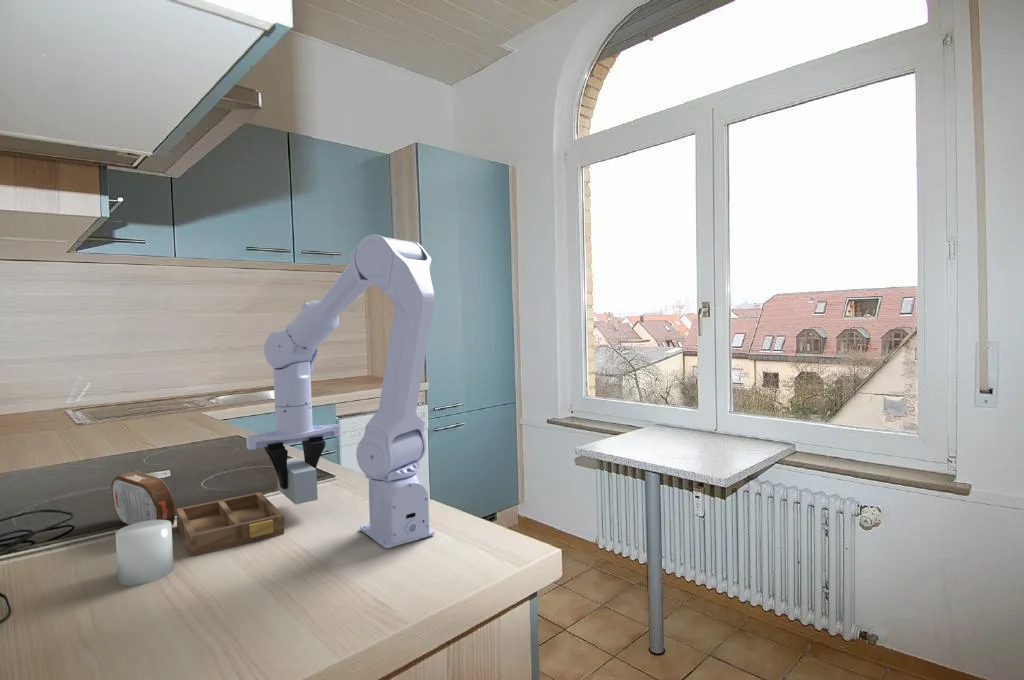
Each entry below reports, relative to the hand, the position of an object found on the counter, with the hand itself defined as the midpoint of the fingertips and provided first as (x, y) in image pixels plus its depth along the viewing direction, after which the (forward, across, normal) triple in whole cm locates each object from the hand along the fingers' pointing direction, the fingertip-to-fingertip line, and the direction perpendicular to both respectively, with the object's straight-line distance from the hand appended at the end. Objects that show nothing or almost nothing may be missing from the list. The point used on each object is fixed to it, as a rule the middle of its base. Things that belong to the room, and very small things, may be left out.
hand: (296, 485), depth 93 cm
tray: (+5, +11, +1) cm, 12 cm away
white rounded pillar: (+5, +22, +10) cm, 25 cm away
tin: (+5, +21, -9) cm, 23 cm away
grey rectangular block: (+2, 0, 0) cm, 2 cm away
